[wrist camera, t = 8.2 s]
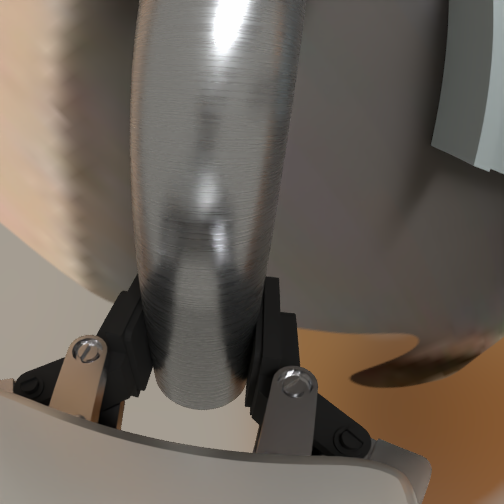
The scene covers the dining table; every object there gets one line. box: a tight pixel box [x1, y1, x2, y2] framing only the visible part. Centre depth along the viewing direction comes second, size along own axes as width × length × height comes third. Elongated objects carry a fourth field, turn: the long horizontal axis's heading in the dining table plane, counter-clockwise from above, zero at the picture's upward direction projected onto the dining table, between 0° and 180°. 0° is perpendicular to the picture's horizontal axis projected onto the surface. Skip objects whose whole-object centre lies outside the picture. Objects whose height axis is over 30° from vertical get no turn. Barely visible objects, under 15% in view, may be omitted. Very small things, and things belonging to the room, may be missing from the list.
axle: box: [130, 0, 306, 410], centre depth 7 cm, size 17×4×4 cm, turn 173°
